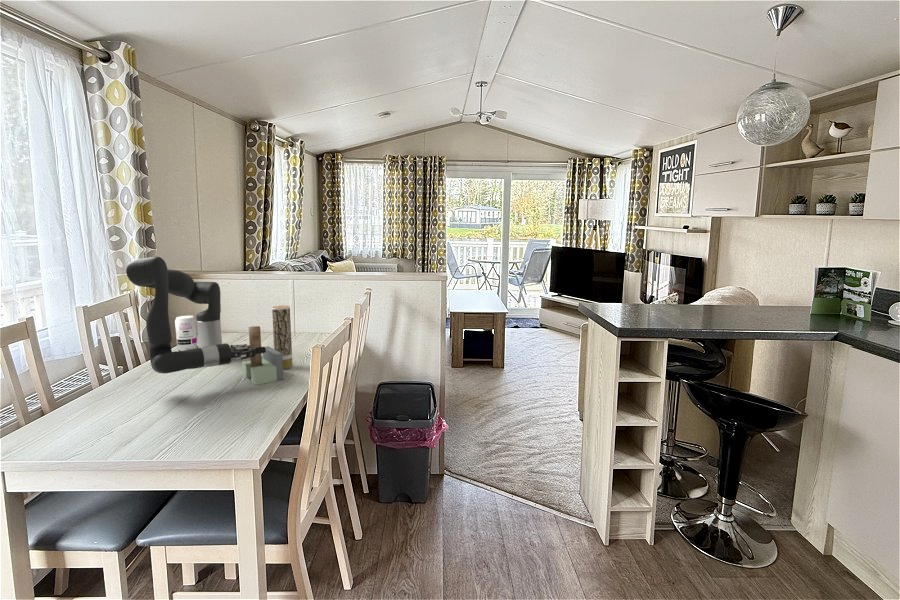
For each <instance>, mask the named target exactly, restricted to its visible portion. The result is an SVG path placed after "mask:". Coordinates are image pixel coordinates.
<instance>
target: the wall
mask: <svg viewBox="0 0 900 600" xmlns="http://www.w3.org/2000/svg"><path fill="white" fill-rule="evenodd" d="M264 347H265V348H266V352H265V353H262V358H263V359H265V360H266V361H268V362H270V363H271V364H273V365H274V366H276V372H277V381H282V380H283V381H284V369H283V359H282V353H280V352H278V351H276V350H275V349H274V347H271V346H269V345H268V346H264ZM277 381H276V382H277Z"/></svg>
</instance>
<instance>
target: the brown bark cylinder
mask: <svg viewBox="0 0 900 600" xmlns="http://www.w3.org/2000/svg"><path fill="white" fill-rule="evenodd" d="M271 310H272V311H271V313H272V332H273V333H272V334H273V349H275V350H276V351H278V352H280V353H282V359H283V370H288V369H291V368H292V367H293V347H292V346H293V345H292V321H291V306H290V305H285V304H284V305H283V304H281V305H274V306H272V307H271Z"/></svg>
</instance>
